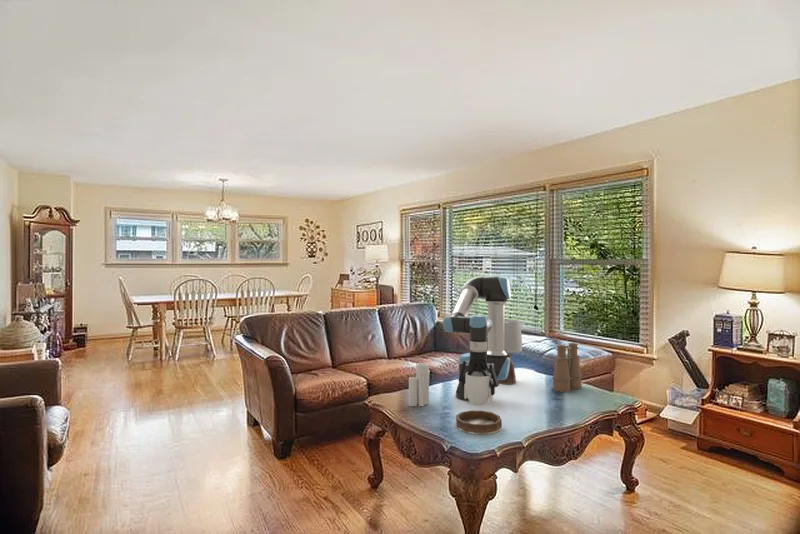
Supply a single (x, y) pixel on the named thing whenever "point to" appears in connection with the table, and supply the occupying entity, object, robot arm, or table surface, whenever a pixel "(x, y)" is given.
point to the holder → (478, 422)
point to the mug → (477, 388)
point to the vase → (419, 386)
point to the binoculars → (567, 369)
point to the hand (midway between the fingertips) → (478, 400)
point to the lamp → (511, 345)
